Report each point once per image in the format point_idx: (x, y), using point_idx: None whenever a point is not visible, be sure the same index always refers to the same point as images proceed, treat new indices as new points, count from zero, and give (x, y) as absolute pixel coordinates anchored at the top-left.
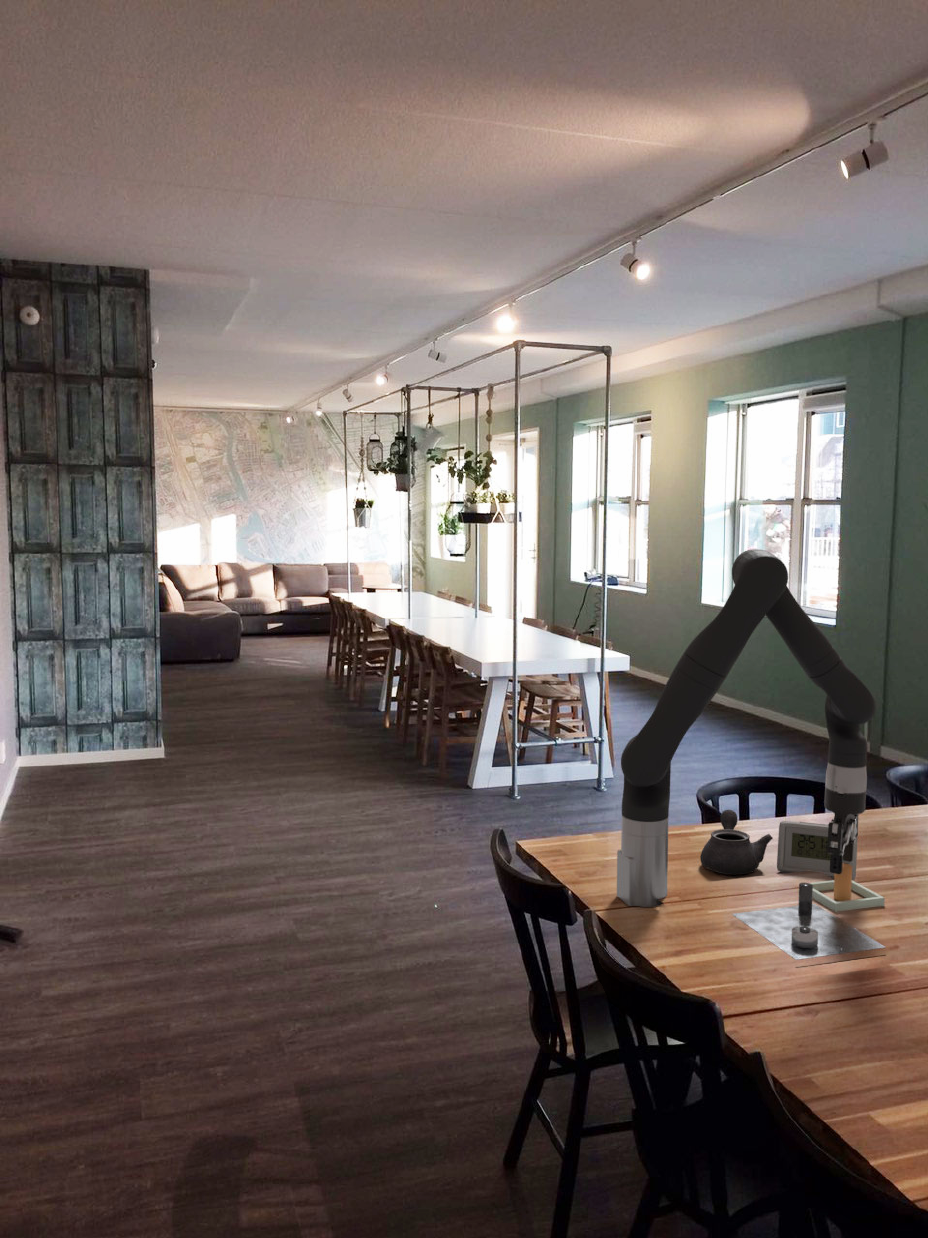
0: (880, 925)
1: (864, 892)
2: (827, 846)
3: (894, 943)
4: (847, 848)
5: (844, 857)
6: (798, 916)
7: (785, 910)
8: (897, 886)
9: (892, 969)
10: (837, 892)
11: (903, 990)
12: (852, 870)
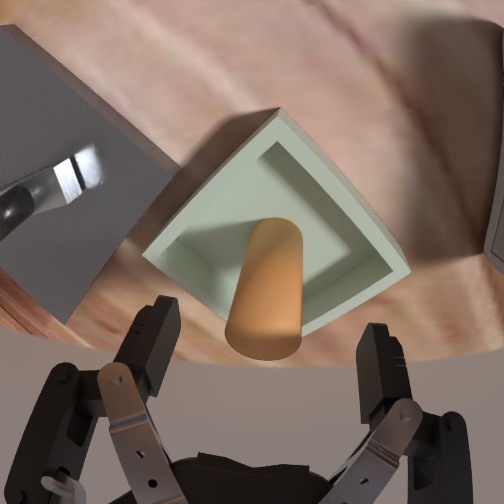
0: (191, 315)
1: (321, 308)
2: (42, 390)
3: (123, 329)
4: (367, 388)
5: (367, 341)
6: (2, 192)
7: (72, 117)
8: (460, 330)
9: (45, 318)
10: (247, 252)
11: (17, 321)
12: (496, 267)
